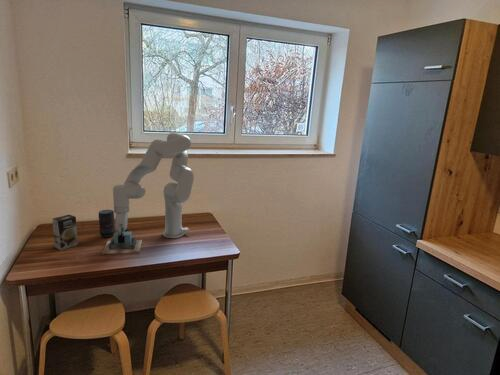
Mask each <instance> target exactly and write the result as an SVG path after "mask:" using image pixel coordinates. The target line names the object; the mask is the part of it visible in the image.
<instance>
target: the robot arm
mask: <svg viewBox="0 0 500 375" xmlns="http://www.w3.org/2000/svg"><path fill="white" fill-rule="evenodd" d="M191 140H192V139H190V137H189V136H188V135H186V134H183V133H182V134H181V133H177V132H171V133H169V134H168V135H167V137H166V140H162V139H155V140H154V139H153V140H152V141H151V143H150V144H149V145H148V148H147V150H146V152H145V154H144V155H143V157H142V160H141V161H140V162H139V164H137V165H136V166H135V167H134V168H133V169H132V170H131V171H130V172H129V173H128V175H127V178H126V179H125V181H124V183H123V184H117V185H114V186H113V188H112V196H113V211H114V214H115V217H114V227H115V232H118V243H125V236H124V232H128V225H129V224H128V222H129V218H128V217H129V216H128V213H130V199H131V200H133V199H134V200H137V199H138V200H139V199H141V198H144V196H146V188H145V187H144V186H143V185H141V184H140V182H141V181H142V179H143V178H144V177H145V176H146V175H148V174H150V173H153V172H155V171H156V169H157V167H158V166H159V165H160V162H161V160H162V158H170V157H172V160H171V161H172V162H171V165H170V170H169V177H170V179H171V180H173V181H175V182H168V183H166V184H165V185H164V187H163V198H164V213H165V214H164V216H165V217H164V221H165V222H164V224H165V225H164V229H165V230H163V232H162V236H163V237H164V238H166V239H178V238H181V237H183V236H184V235H185V232H186V233H190V228H188V227H184V226H183V224H182V223H183V220H182V218H183V217H182V215H183V206H182V205H183V204H185V203H186V202H187V201H188V200H189V199H190V197H191V193H192V188H193V186H194V185H193V184H194V179H195V178H194V177H195V175H194V171H193V170H192V169H191V167H187V166H188V161H189V153H188V152H189V151H188V150H189V149H190V148H191V146H192V141H191ZM176 182H177V183H176ZM122 232H123V234H122Z"/></svg>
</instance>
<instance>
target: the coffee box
mask: <svg viewBox="0 0 500 375" xmlns="http://www.w3.org/2000/svg"><path fill="white" fill-rule="evenodd" d="M52 228H53V230H52V231H53V240H54V241H53V242H54V247H55V248H56V249H58V250H60V251H63V250H66V249H70V248H72V247H76V246H78V245H79V244H78V230H77V218H76V216H75V215H72V214H66V215H65V214H64V215H61V216H58V217H54V218H52Z"/></svg>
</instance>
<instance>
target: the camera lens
mask: <svg viewBox="0 0 500 375" xmlns="http://www.w3.org/2000/svg"><path fill="white" fill-rule="evenodd" d="M98 221H99V224H98V225H99V235H100V237H101V239H110V238H111V239H112V238H114V234H115V232H116V230H115V212H114V209H103V210H99V211H98Z"/></svg>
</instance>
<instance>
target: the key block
mask: <svg viewBox="0 0 500 375" xmlns="http://www.w3.org/2000/svg"><path fill="white" fill-rule="evenodd" d="M132 233H133V232H132V231H131V230H130V231H128V230H127V232H124V236H125V243H118V231H117V232H116V231H114V236H113V238H114V244H132V238H133V237H132ZM122 234H123V232H122Z"/></svg>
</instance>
